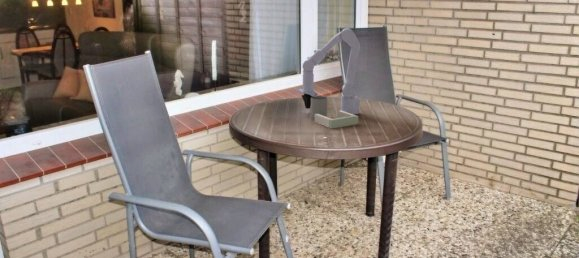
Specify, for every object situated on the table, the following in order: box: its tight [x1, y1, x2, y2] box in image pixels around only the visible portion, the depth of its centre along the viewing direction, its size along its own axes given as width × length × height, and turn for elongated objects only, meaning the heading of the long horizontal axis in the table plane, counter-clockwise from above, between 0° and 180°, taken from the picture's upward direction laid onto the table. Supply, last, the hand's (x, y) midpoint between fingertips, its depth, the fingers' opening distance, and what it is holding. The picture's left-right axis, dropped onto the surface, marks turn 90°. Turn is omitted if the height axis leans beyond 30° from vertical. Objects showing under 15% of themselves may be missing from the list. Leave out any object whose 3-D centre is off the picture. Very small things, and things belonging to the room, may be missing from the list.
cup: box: [310, 95, 328, 119], centre depth 248 cm, size 8×8×10 cm
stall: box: [314, 109, 359, 130], centre depth 236 cm, size 16×14×4 cm
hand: (307, 108), depth 257 cm, fingers closed
